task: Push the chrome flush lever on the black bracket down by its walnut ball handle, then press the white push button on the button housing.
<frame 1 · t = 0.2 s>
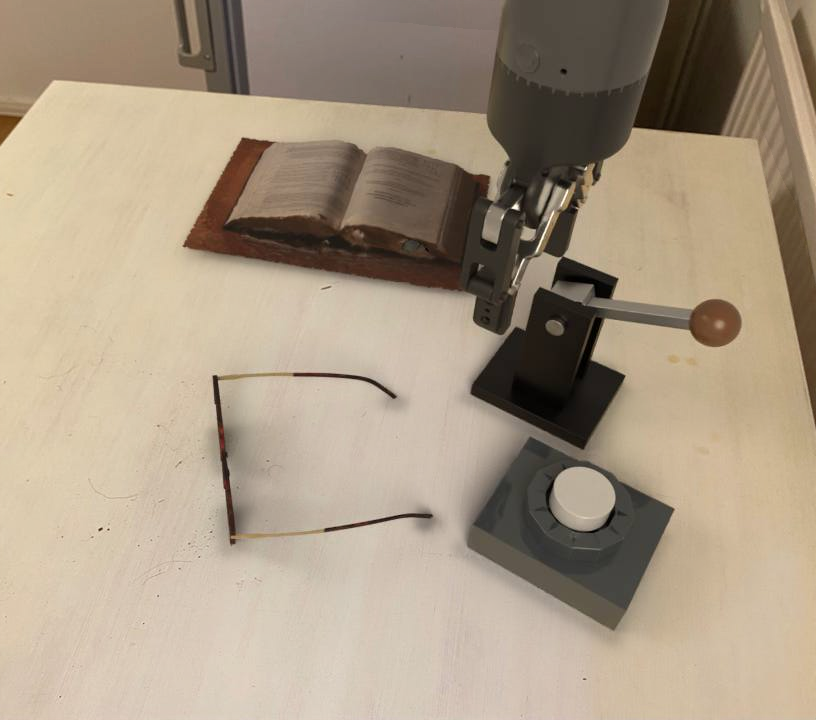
hand: (521, 286, 52), 16 cm above the table, tool pointing down, fingers open, 8 cm apart
flush lever: (640, 313, 57), point 12 cm above the table, hinge at 20.0°
sunglasses: (320, 470, 62), on the table
button housing: (565, 539, 58), on the table
white push button: (581, 498, 54), point 5 cm above the table, slide at 0.1 cm
book: (344, 214, 83), on the table
lever bracket: (546, 389, 67), on the table
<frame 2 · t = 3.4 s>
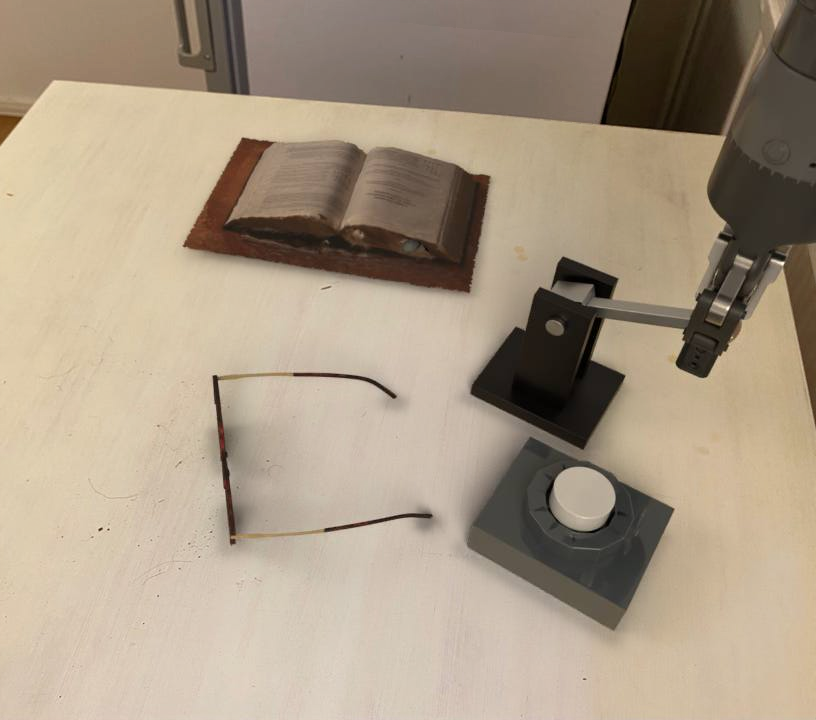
hand: (700, 351, 56), 11 cm above the table, tool pointing down, fingers closed on flush lever, 3 cm apart
flush lever: (640, 313, 57), point 12 cm above the table, hinge at 20.0°, touching gripper
everything else where it was.
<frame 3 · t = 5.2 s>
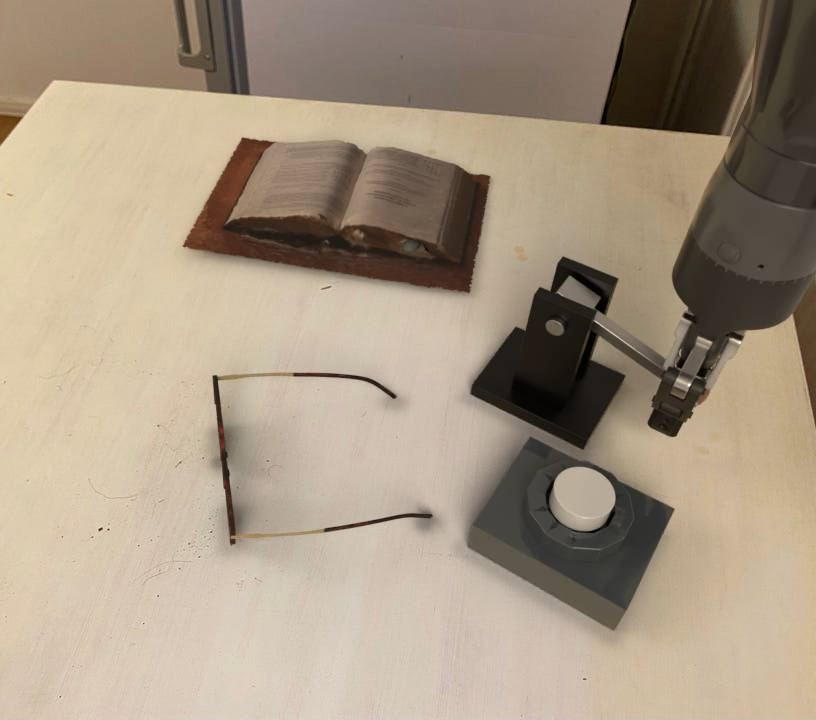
hand: (671, 411, 61), 4 cm above the table, tool pointing down, fingers closed on flush lever, 3 cm apart
flush lever: (629, 345, 59), point 8 cm above the table, hinge at -17.4°, touching gripper
everything else where it was.
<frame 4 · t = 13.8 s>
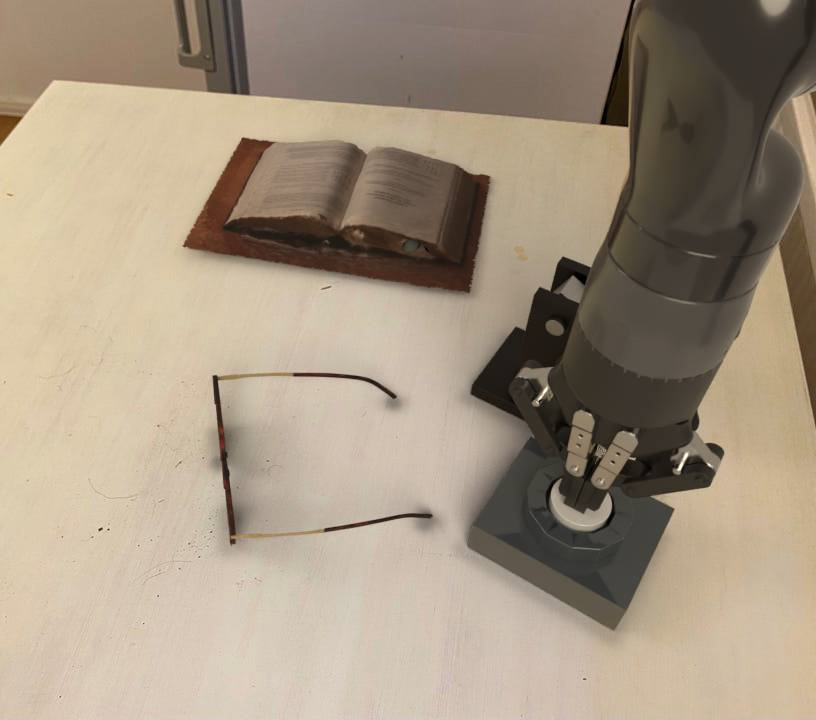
hand: (579, 499, 54), 5 cm above the table, tool pointing down, fingers closed
flush lever: (623, 349, 60), point 8 cm above the table, hinge at -25.5°
white push button: (578, 506, 55), point 5 cm above the table, slide at -0.9 cm, touching gripper
everything else where it was.
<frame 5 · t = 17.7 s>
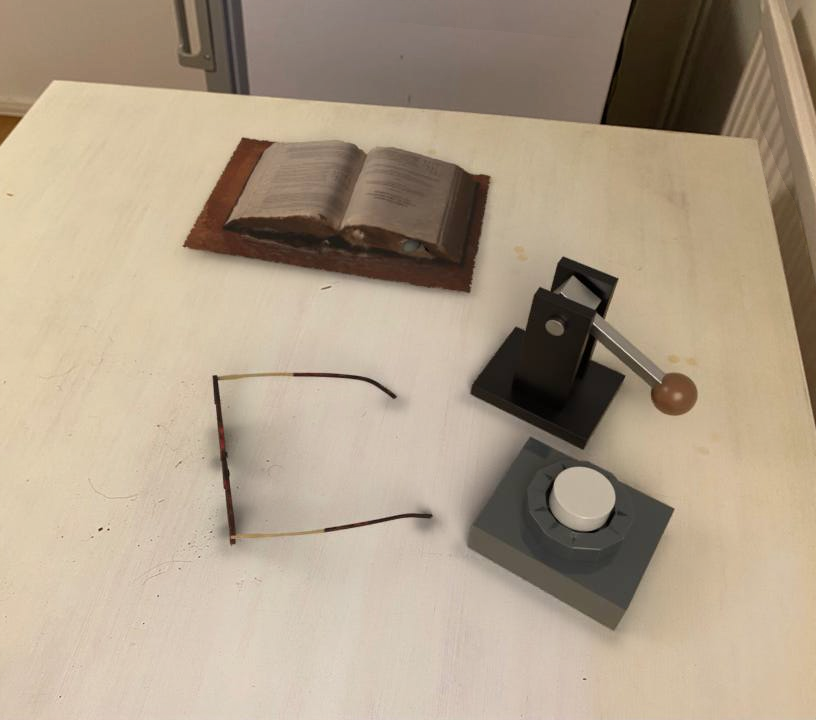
white push button: (581, 498, 54), point 5 cm above the table, slide at 0.1 cm
everything else where it was.
at the end: flush lever at -26° (first picture: +20°); white push button pushed in 1.1 cm at the most during the clip, back to where it started at the end; book moved 0.2 cm from its start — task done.
